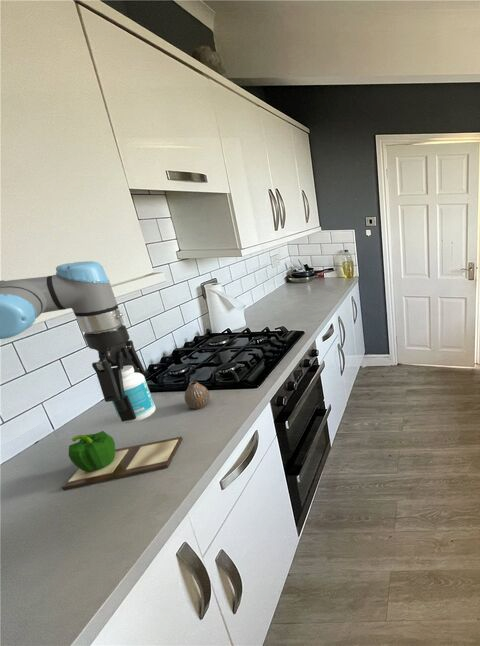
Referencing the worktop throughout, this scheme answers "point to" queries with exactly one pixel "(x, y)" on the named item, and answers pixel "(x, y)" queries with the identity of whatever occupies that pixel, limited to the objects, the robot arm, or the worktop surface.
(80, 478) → the board
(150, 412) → the pill bottle
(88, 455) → the bell pepper
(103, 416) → the worktop surface
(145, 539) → the worktop surface
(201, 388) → the brown rounded bulb
